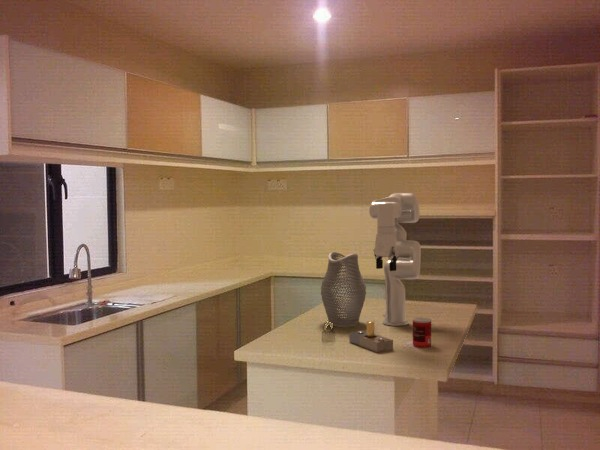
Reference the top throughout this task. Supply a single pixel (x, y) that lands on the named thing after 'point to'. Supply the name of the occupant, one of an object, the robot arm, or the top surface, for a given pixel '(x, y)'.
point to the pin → (370, 329)
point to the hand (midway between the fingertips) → (386, 269)
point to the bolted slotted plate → (371, 341)
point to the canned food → (422, 332)
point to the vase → (357, 285)
